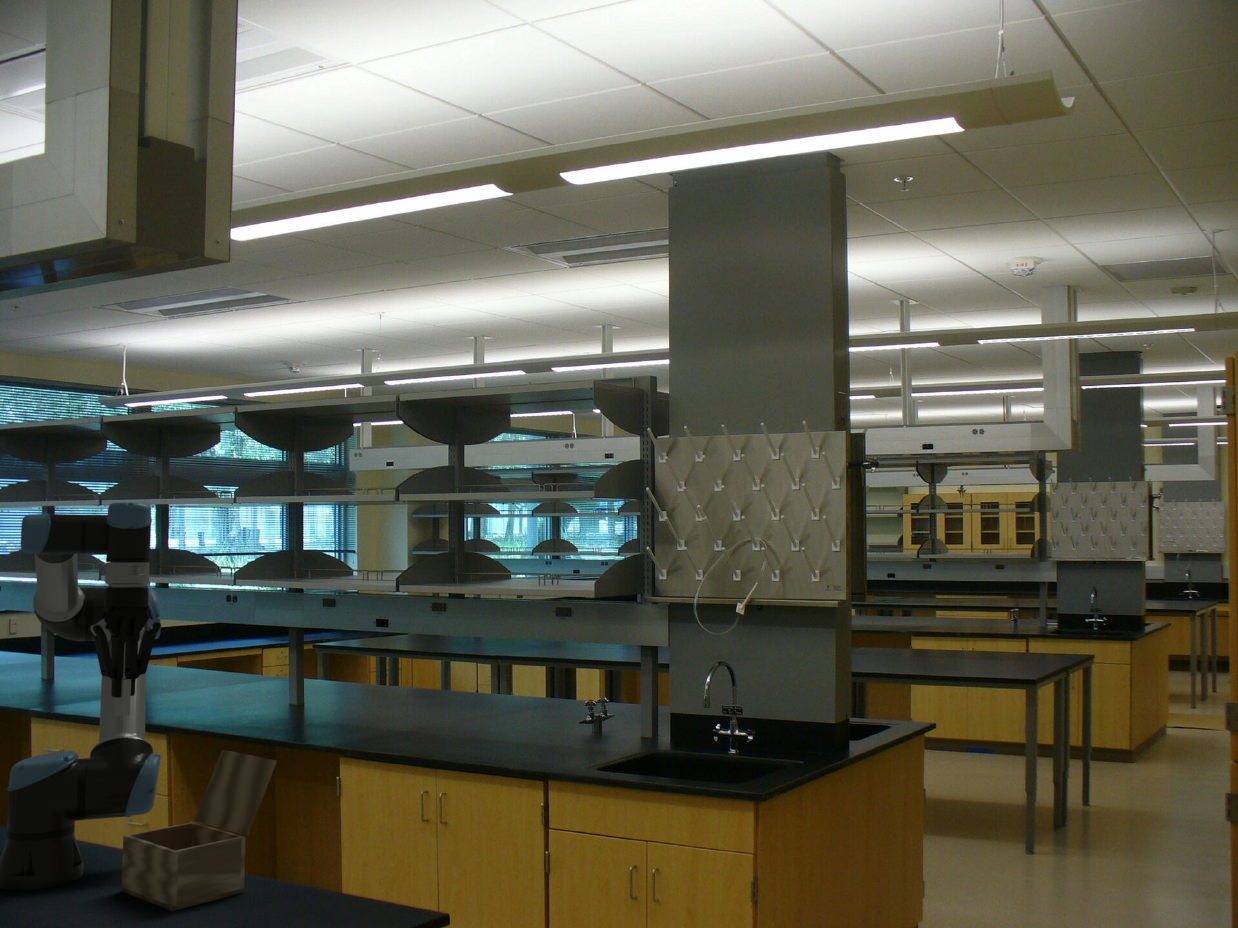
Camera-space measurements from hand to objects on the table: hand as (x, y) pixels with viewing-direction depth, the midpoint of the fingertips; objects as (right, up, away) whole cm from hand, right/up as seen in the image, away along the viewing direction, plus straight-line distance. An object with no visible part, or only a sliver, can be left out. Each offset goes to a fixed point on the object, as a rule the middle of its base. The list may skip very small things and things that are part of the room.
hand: (122, 714), depth 207 cm
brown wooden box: (+11, -33, 0) cm, 34 cm away
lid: (+17, -17, +9) cm, 26 cm away
